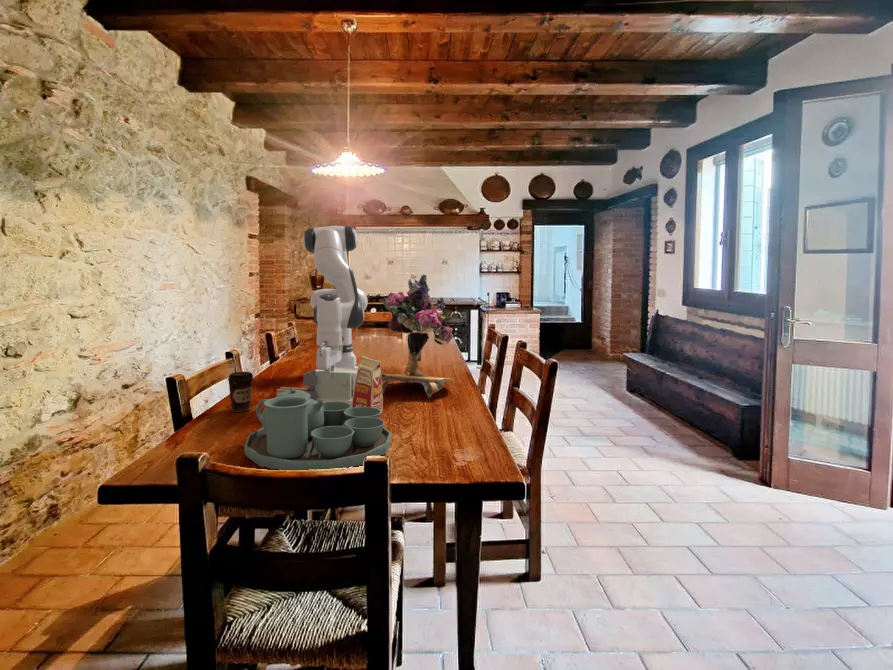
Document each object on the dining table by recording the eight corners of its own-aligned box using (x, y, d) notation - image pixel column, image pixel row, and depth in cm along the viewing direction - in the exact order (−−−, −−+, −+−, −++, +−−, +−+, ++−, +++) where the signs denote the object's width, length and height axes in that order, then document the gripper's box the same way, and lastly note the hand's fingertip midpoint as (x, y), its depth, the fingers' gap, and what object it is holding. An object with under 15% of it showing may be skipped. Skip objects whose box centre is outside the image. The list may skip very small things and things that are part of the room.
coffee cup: (259, 410, 194) (258, 373, 192) (236, 414, 188) (235, 376, 186) (247, 405, 200) (246, 369, 198) (224, 409, 194) (223, 372, 192)
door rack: (281, 394, 216) (281, 387, 216) (306, 395, 216) (306, 388, 215) (276, 397, 212) (276, 389, 211) (302, 398, 211) (302, 390, 211)
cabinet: (317, 394, 218) (317, 366, 217) (361, 396, 217) (361, 368, 215) (303, 404, 202) (303, 374, 201) (351, 406, 201) (351, 376, 200)
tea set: (392, 473, 141) (393, 409, 138) (227, 476, 136) (225, 410, 134) (390, 426, 180) (390, 376, 177) (262, 428, 175) (260, 376, 173)
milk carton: (350, 415, 190) (350, 357, 188) (363, 408, 199) (363, 353, 196) (374, 418, 187) (374, 359, 185) (386, 411, 196) (387, 355, 193)
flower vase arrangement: (455, 368, 257) (465, 277, 236) (452, 426, 218) (464, 322, 197) (383, 361, 257) (386, 269, 236) (367, 418, 217) (370, 314, 197)
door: (310, 396, 206) (310, 370, 205) (351, 398, 205) (351, 371, 203) (307, 399, 203) (307, 372, 201) (349, 400, 201) (349, 373, 200)
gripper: (329, 344, 191) (329, 384, 193) (345, 336, 211) (345, 372, 213) (311, 343, 191) (311, 383, 193) (329, 335, 211) (329, 371, 213)
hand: (329, 377), depth 203 cm, fingers closed
